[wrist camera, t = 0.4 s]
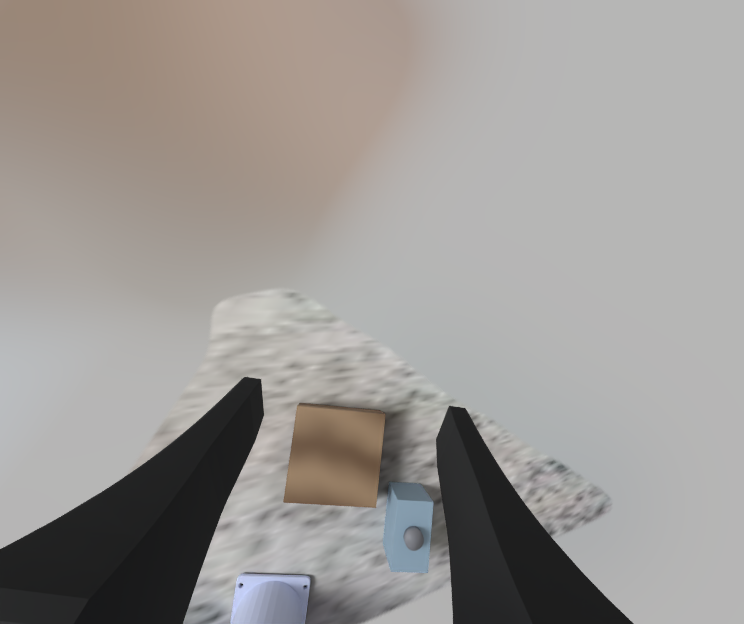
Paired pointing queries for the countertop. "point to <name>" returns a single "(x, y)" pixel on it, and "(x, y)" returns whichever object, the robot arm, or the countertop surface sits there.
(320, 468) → the stand
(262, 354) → the countertop surface
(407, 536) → the housing
